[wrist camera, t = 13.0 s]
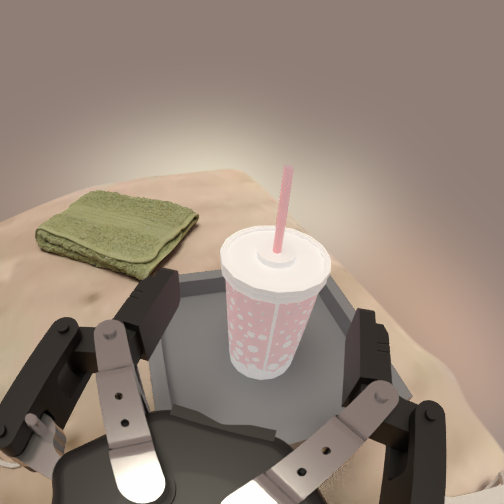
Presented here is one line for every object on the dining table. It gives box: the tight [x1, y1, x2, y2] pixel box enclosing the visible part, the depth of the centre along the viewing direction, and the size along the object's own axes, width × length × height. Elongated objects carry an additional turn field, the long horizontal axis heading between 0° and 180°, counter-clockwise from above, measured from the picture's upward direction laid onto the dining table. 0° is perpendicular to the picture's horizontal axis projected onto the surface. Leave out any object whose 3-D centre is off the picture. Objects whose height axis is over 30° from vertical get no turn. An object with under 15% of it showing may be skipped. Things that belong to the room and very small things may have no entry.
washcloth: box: [35, 190, 199, 280], centre depth 35 cm, size 13×18×3 cm
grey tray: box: [149, 270, 413, 450], centre depth 23 cm, size 16×16×2 cm
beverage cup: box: [220, 165, 331, 380], centre depth 19 cm, size 6×6×14 cm
